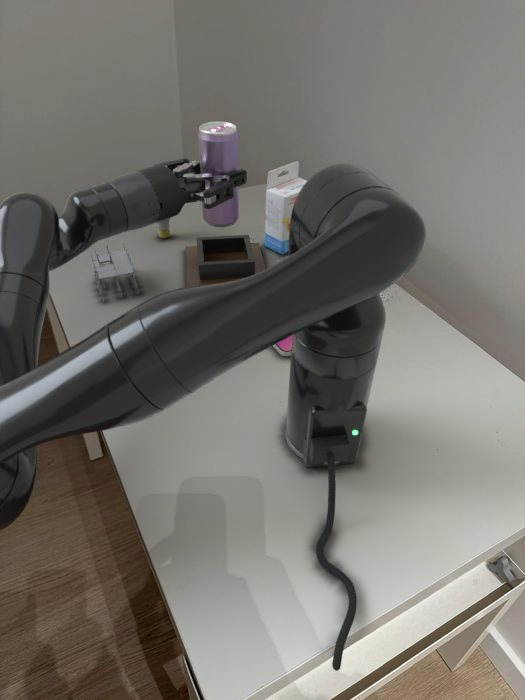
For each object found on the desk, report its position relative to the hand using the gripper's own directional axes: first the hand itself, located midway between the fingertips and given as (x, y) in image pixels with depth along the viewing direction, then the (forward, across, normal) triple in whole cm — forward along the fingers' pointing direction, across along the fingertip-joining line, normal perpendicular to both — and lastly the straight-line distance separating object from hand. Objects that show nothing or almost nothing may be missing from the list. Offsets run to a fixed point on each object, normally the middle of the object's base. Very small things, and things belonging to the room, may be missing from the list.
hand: (231, 169), depth 82 cm
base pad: (-2, 0, -18) cm, 18 cm away
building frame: (-19, -9, -18) cm, 28 cm away
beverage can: (-2, 0, -8) cm, 9 cm away
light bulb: (-3, -17, -18) cm, 25 cm away
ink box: (+14, +1, -18) cm, 23 cm away
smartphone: (-3, +22, -18) cm, 29 cm away
